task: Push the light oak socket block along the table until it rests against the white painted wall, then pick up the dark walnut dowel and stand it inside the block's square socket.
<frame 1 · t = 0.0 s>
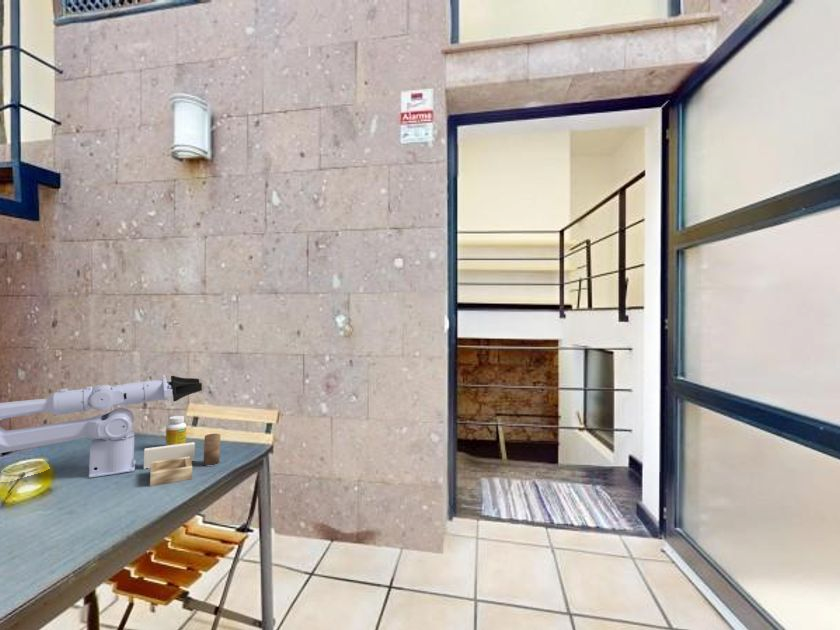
hand: (200, 384, 117), 22 cm above the table, tool horizontal, fingers open, 7 cm apart
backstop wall: (169, 463, 112), on the table
dowel: (211, 463, 113), on the table
supplement bottle: (175, 448, 124), on the table
socket block: (171, 470, 104), point 1 cm above the table, slide at 0.0 cm
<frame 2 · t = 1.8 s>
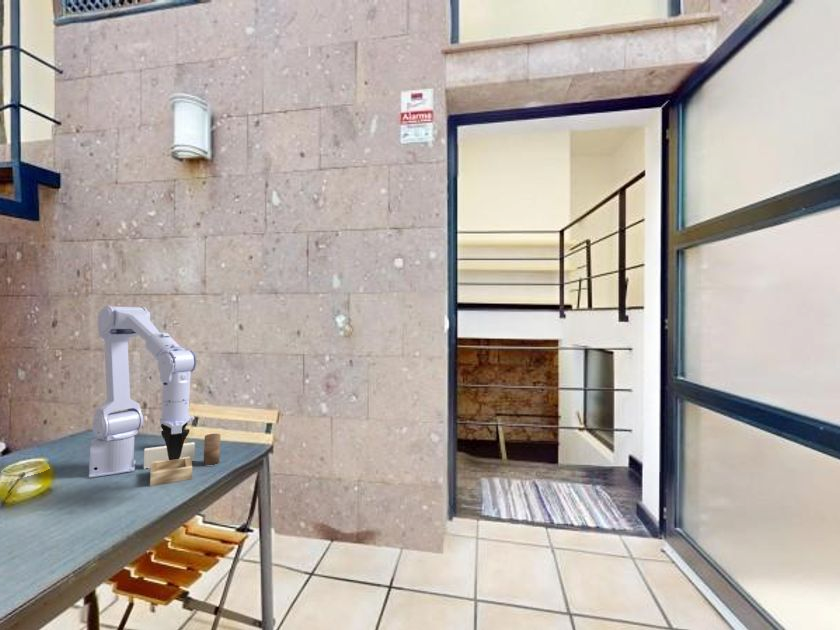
hand: (173, 455, 96), 8 cm above the table, tool pointing down, fingers open, 5 cm apart
nothing on the table moved.
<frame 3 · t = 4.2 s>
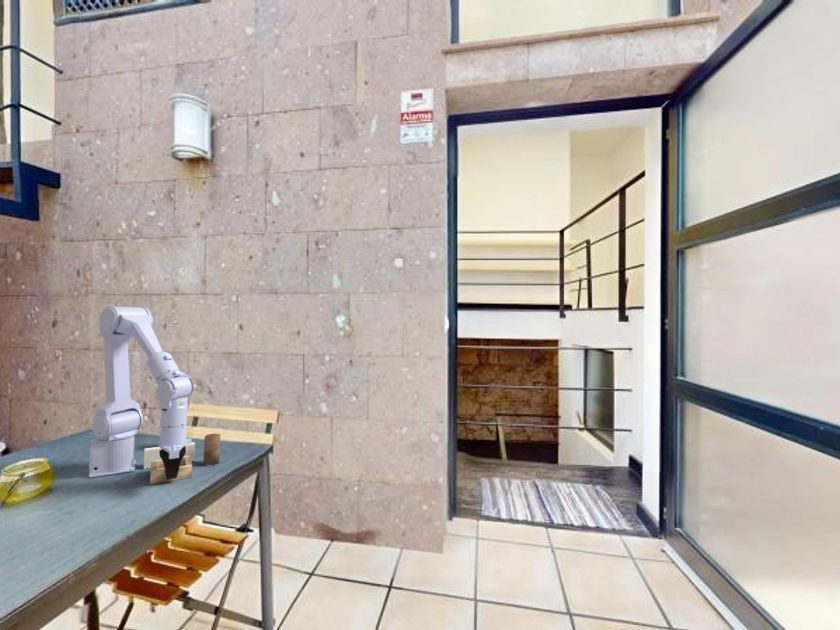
hand: (171, 477, 100), 1 cm above the table, tool pointing down, fingers closed
socket block: (170, 468, 105), point 1 cm above the table, slide at 1.1 cm, touching gripper
everything else where it was.
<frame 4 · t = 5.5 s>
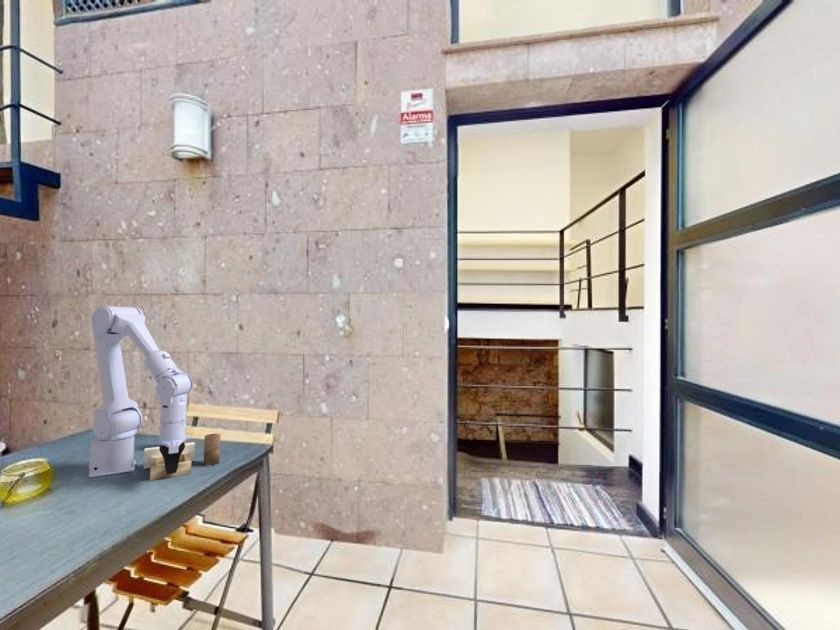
hand: (171, 472, 103), 1 cm above the table, tool pointing down, fingers closed, pressing on socket block
socket block: (170, 465, 107), point 1 cm above the table, slide at 4.0 cm, touching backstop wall, gripper
everything else where it was.
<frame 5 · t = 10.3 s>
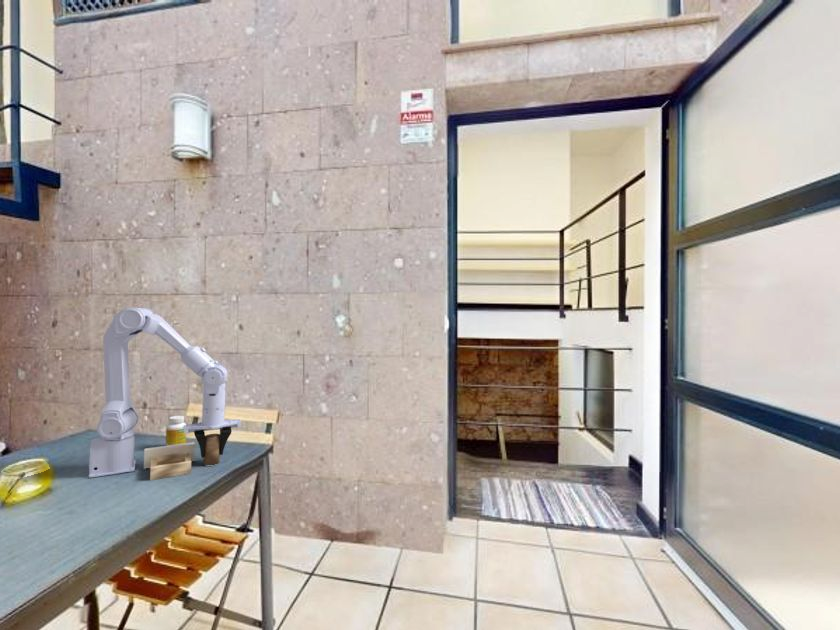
hand: (211, 455, 113), 2 cm above the table, tool pointing down, fingers closed on dowel, 4 cm apart
dowel: (211, 463, 113), on the table, touching gripper
socket block: (170, 465, 107), point 2 cm above the table, slide at 4.0 cm
everything else where it was.
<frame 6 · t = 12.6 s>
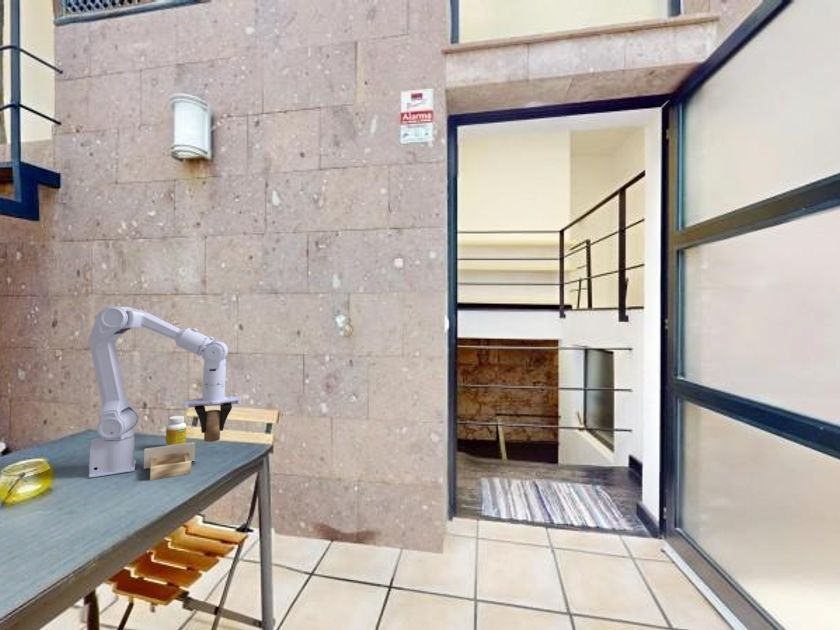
hand: (212, 430, 113), 9 cm above the table, tool pointing down, fingers closed on dowel, 4 cm apart
dowel: (211, 439, 113), point 7 cm above the table, touching gripper
everything else where it was.
when the fingers open (5 cm above the table, at t = 15.2 s): dowel drops 1 cm, resting on socket block.
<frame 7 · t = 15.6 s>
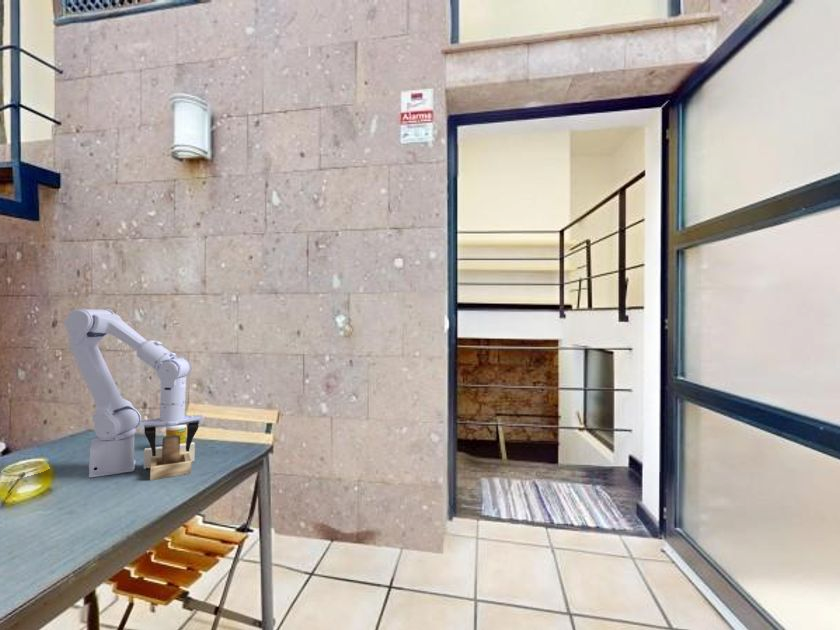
hand: (171, 452, 107), 5 cm above the table, tool pointing down, fingers open, 7 cm apart
dowel: (170, 467, 107), point 1 cm above the table, touching socket block
socket block: (170, 465, 107), point 1 cm above the table, slide at 4.0 cm, touching dowel
everything else where it was.
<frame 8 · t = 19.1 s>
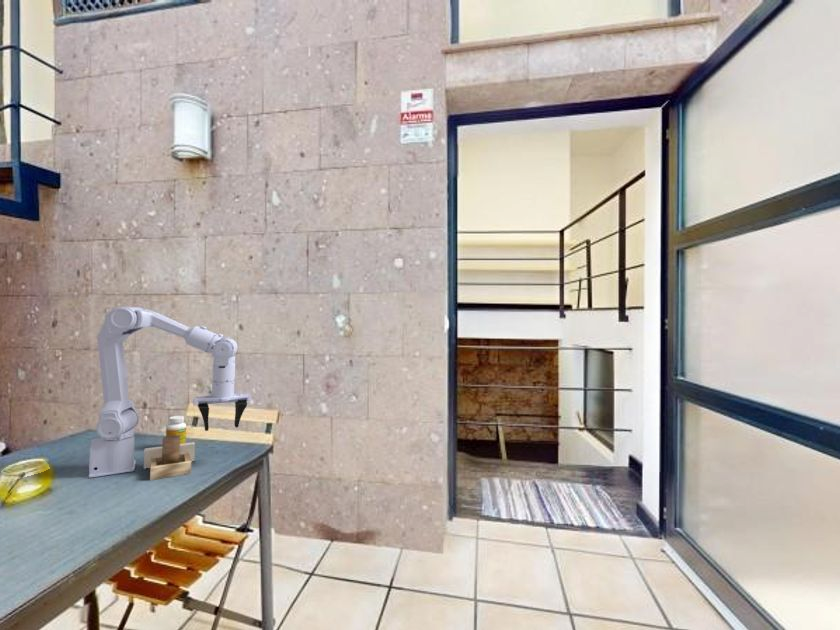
hand: (221, 428, 112), 10 cm above the table, tool pointing down, fingers open, 7 cm apart
nothing on the table moved.
at the end: socket block slide at 4.0 cm; dowel 0.0 cm off-centre on the socket block, point 1.0 cm above the socket block's base; dowel tilted 0° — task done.
